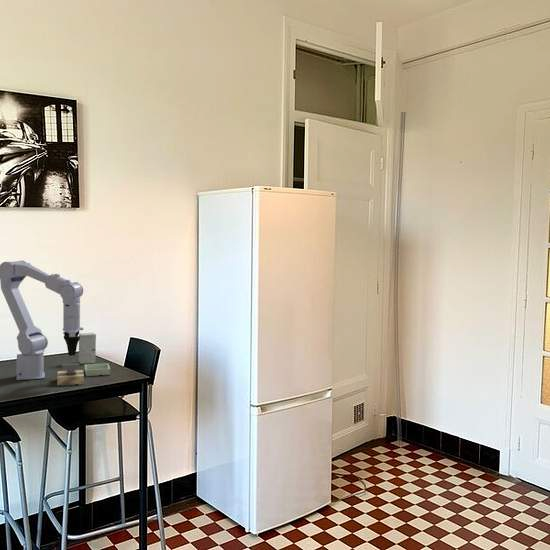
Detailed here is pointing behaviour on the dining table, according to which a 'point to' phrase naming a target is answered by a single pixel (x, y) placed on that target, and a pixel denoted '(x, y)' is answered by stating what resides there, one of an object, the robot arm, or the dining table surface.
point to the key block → (70, 378)
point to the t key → (70, 368)
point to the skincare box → (87, 348)
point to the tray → (97, 369)
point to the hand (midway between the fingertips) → (71, 353)
